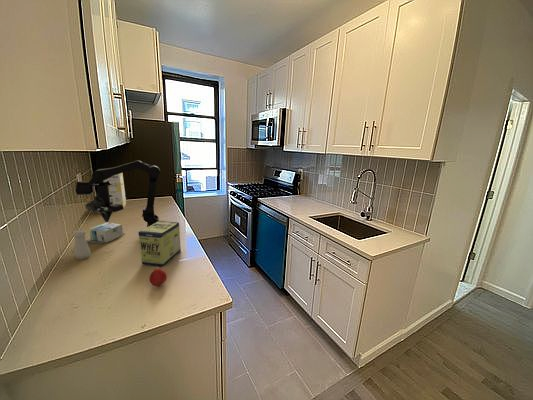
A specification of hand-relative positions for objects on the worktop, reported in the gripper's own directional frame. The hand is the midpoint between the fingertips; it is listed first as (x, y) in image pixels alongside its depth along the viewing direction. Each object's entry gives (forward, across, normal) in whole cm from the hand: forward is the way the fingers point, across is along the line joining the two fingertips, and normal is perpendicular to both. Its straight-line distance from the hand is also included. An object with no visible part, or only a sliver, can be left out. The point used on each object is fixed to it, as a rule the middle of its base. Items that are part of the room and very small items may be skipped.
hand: (106, 221), depth 121 cm
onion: (+10, +54, -29) cm, 62 cm away
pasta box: (+10, -48, +51) cm, 70 cm away
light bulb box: (+6, +5, 0) cm, 8 cm away
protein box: (+10, +42, -10) cm, 44 cm away
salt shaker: (+10, +8, -20) cm, 24 cm away
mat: (+10, -2, 0) cm, 10 cm away
